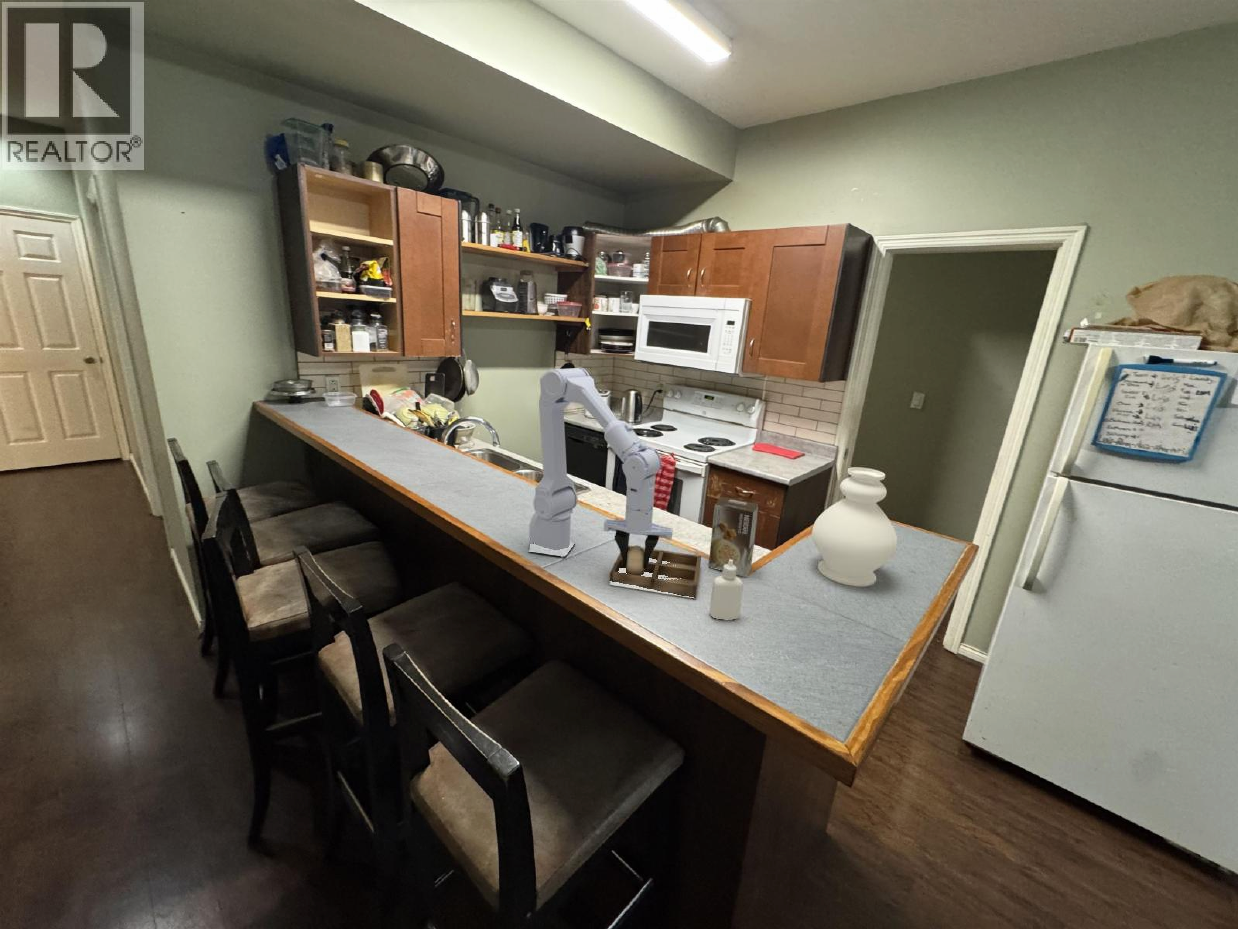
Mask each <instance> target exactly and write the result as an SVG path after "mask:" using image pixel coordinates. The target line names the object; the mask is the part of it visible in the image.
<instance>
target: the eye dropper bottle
mask: <svg viewBox="0 0 1238 929" xmlns="http://www.w3.org/2000/svg"><path fill="white" fill-rule="evenodd" d="M736 569H737V568H736V566H734V565H733V560H731V559H730V560H729V562H728V564H726V565H724V567H723V571H722V575H719V576H716V577H715V578H714V579H713V582H712V586H711V595H710V603H709V605H710V606H709V614H710V616H712V617H713V618H712V619H714V618H716V619H715V620H718V619H724V620H723V621H734V620H733V619H735V620H737V619H739V618H740V615H741V614H740V612H741V606H742V599H743V591H744V583H743V581H742V580H741V579H740V578H739V577H737V575H736ZM725 619H726V620H725ZM727 619H728V620H727Z"/></svg>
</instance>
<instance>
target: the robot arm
mask: <svg viewBox="0 0 1238 929" xmlns="http://www.w3.org/2000/svg"><path fill="white" fill-rule="evenodd" d="M539 385H540V387H539V388H540V394H539V400H538V411H539V412H538V413H539V426H540V428H539V429H540V440H541V442H540V443H541V458H542V473H543V476H542V478H541V480H540V481H539V482H538V484H537V485H536V486H535V488H534V489H535V492H534V493H535V494H534V498H533V501H532V502H533V509H534V511H535V512H534V513H533V514H532V516H531V517H530V522H529V536H528V537H529V539H528V540H529V545H530V544H534V543H535V544H536V545H539V546H542V547H544V548H549V549H553V550H560V549H564V548H568V547H569V545H570V542H571V516H572V514H573V509H575V508H576V506H577V505H578V501H579V500H578V494H577V492H576V488H575V482H574V480H573V479H572V478H570V476H568V473H567V470H568V469H567V453H566V452H567V451H566V450H567V448H566V436H565V434H566V433H565V416H564V415H565V413H564V410H565V409H566V408H567V407H568V406H569V405H570V404H571V403H576V404H580V405H582V407H583V408H584V409H586V411H587V412H588V413H589V414H590V416H592V417H593V418H594V420H595V421H596V422H597V423H598V424H599V426H601V428H602V429H603V430H604V438H603V439H604V440H605V441H606V443H607V444H608V445H609V447H610V448H611V449H612V450H613V451H614V453H615V454H616V455H617V456H618V458H619V460H621V461H622V464H621V466H622V467H621V468H622V471H623V474H624V475H625V478H626V479H625V483H626V498H625V500H626V501H625V516H624V517H625V519H605V521H604V522H603V531H604V532H615V534H614V541H615V543H616V545H617V546H618V550H619V552H621V556H622V561H623V565H626V563H627V552H628V545H629V544H630V543H629V542H630V535H638V536H645V537H646V538H645V541H644V548H645V558H644V565H643V568H647V566H648V562H649V558H650V555H651V553H652V551H653V549H655V548H656V546H657V545H658V542H659V539H661V538H662V539H665V540H667V541H671V540H672V539H673V531H674V529H673V528H672V527H667V526H663V525H659V524H656V523H653V517H654V516H653V513H654V500H655V488H656V474H657V473H659V472H660V471H661V468H662V464H663V463H662V458H661V456H660V454H659V452H658V450H656V448H653V447H651V446H650V447H649V446H647V444H646V443H645V442H643V441H642V440H641V439H640V437H639V436H638V435H637V433H636V432H635V431H634V430H633V429H634V427H633V425H632V423H629V422H627V421H625V420H619V419H617V417H616V416H615V414H614V413H613V411H612V410H611V409H610V408H611V407H609V405H608V404H607V403H606V401H605V400H604V398H603V397H602V395H601V394H600V392H599V391H598V390H597V388H596V385H595V379H594V378H593V377H592V376H591V375H590V374H589V372H588V371H587V370H586V369H585V368H583V367H578V366H577V367H574V368H571V367H570V368H559V369H558V368H551V369H548V370H546V372H545V373H544V374H543V375H542V376H541V377H540V378H539ZM629 546H630V545H629Z"/></svg>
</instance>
